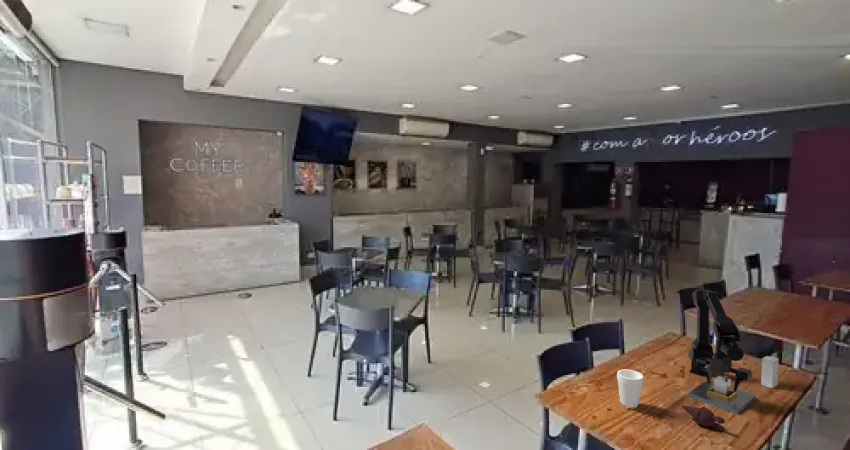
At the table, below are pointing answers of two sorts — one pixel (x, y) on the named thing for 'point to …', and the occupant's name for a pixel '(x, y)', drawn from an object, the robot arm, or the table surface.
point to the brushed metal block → (722, 385)
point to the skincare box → (769, 371)
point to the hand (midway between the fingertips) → (722, 387)
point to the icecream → (705, 417)
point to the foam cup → (629, 387)
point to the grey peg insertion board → (722, 397)
